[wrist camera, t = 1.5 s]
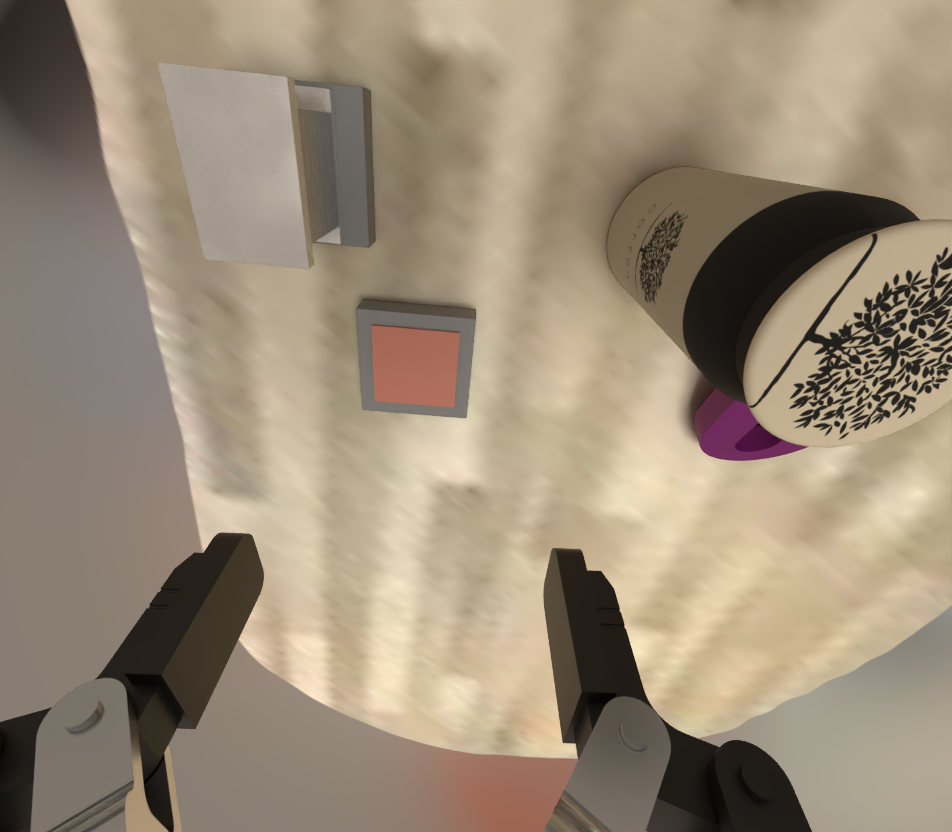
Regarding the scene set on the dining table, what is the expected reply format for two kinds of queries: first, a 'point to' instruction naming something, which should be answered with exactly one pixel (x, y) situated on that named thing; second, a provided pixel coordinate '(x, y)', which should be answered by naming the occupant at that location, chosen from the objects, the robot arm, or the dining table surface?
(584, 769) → the robot arm
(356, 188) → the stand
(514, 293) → the dining table surface
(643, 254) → the travel mug
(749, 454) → the mounting bracket
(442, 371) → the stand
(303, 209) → the housing
